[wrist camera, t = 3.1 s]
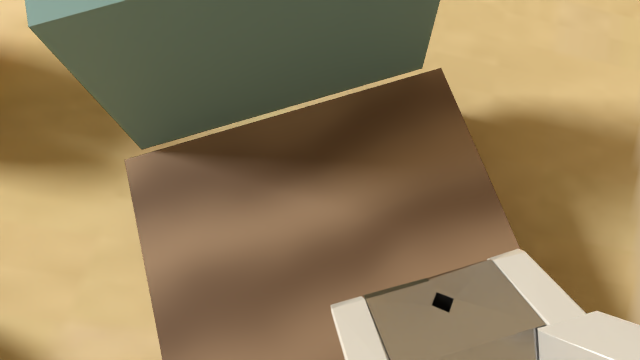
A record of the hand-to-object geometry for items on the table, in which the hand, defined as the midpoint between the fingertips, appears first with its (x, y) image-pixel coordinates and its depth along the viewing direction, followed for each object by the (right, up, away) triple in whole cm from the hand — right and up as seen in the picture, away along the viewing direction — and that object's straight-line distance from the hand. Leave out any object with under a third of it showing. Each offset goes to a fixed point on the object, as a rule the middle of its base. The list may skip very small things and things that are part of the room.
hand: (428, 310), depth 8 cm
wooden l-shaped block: (-1, -4, +23) cm, 23 cm away
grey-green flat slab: (-4, +7, +22) cm, 23 cm away
